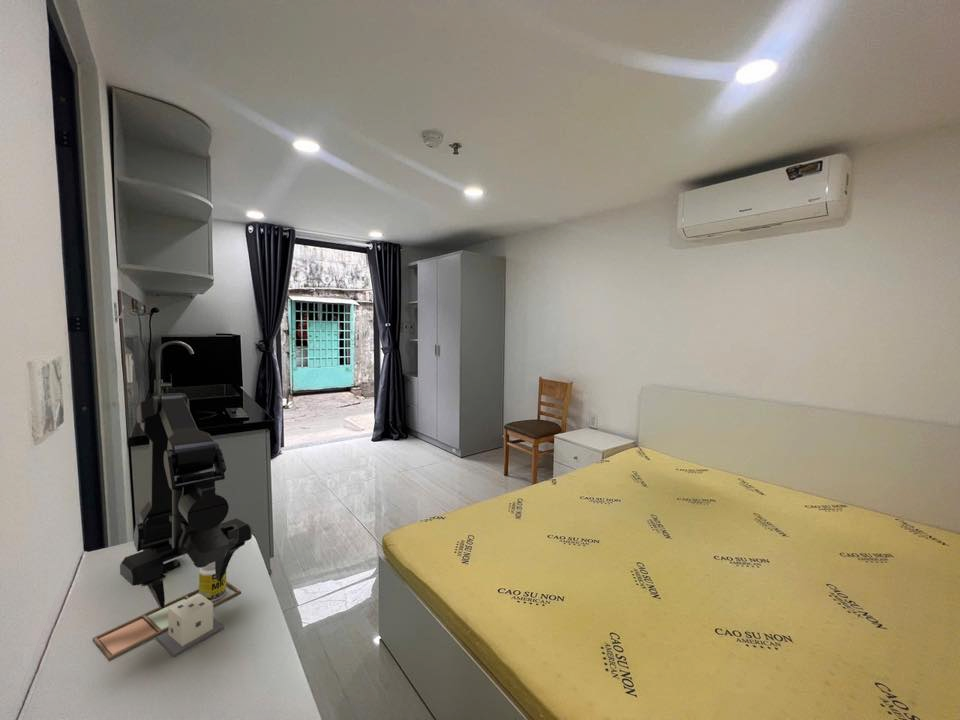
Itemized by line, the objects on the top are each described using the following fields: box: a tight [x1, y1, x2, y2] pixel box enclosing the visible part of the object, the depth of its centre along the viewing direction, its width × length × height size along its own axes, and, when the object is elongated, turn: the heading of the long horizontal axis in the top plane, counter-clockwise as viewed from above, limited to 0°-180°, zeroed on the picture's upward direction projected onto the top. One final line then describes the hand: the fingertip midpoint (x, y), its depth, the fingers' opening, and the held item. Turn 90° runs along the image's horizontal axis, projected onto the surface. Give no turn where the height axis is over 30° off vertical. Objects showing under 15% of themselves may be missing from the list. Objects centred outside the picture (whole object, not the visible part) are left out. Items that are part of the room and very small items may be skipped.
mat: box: [155, 618, 225, 658], centre depth 74 cm, size 7×8×1 cm
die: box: [169, 593, 214, 646], centre depth 74 cm, size 5×5×5 cm
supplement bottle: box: [198, 562, 227, 603], centre depth 84 cm, size 5×5×8 cm
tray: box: [92, 580, 242, 662], centre depth 78 cm, size 8×21×1 cm, turn 149°
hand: (191, 593), depth 73 cm, fingers open, 9 cm apart
